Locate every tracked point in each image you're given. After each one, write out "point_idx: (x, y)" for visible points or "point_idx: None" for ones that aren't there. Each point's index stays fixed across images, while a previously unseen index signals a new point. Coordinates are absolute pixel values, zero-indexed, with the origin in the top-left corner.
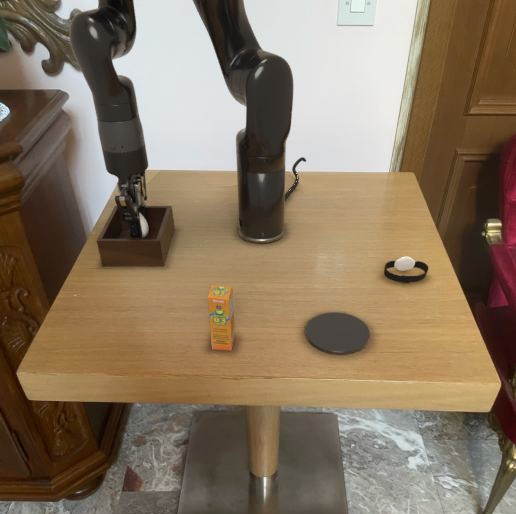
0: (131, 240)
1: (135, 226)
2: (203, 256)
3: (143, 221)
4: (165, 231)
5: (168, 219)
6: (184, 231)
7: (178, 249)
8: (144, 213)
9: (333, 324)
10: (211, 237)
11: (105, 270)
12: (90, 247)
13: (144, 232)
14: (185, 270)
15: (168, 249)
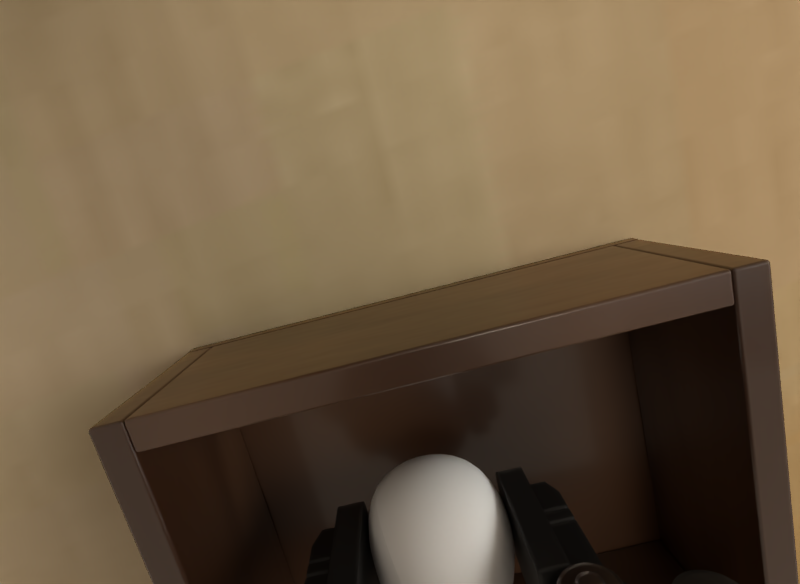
0: (785, 483)
1: (588, 549)
2: (469, 32)
3: (464, 530)
4: (490, 313)
5: (312, 363)
6: (190, 281)
7: (421, 229)
8: (358, 579)
9: None
10: (208, 67)
11: None
12: None
13: (474, 471)
14: (654, 88)
15: (447, 285)
